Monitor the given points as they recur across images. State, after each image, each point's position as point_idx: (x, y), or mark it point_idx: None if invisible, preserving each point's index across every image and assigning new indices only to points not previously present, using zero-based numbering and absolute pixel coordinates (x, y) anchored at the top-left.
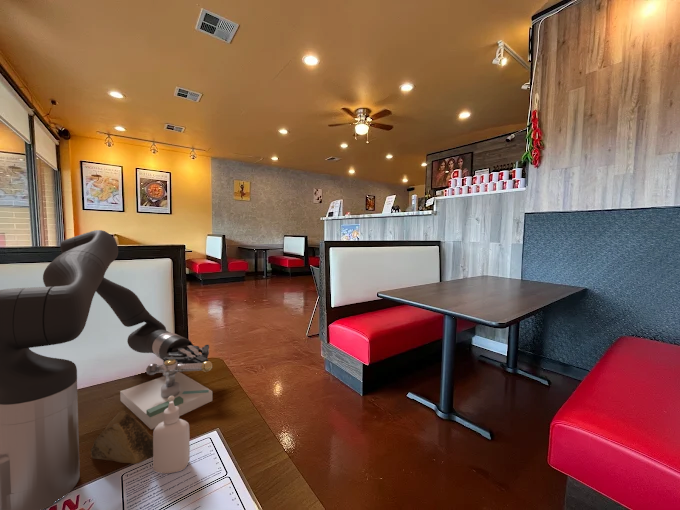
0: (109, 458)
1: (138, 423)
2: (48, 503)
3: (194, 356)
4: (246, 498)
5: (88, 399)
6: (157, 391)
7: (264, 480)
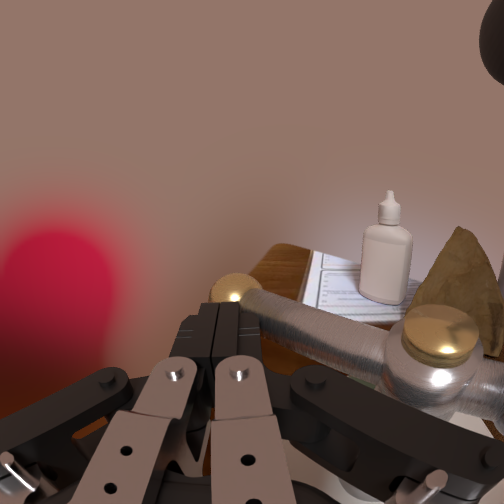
0: None
1: (441, 251)
2: None
3: (229, 365)
4: (318, 254)
5: None
6: None
7: (294, 256)
